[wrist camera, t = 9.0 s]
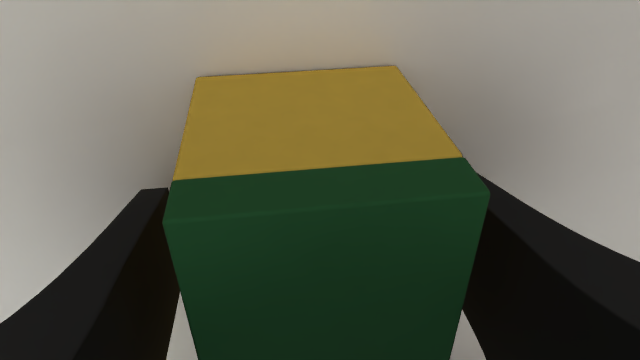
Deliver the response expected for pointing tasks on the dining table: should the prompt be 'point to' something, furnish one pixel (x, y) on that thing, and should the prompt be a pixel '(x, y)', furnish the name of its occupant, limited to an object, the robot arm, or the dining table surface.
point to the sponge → (321, 219)
